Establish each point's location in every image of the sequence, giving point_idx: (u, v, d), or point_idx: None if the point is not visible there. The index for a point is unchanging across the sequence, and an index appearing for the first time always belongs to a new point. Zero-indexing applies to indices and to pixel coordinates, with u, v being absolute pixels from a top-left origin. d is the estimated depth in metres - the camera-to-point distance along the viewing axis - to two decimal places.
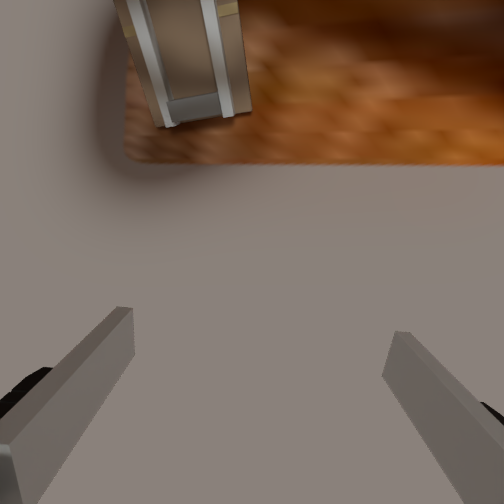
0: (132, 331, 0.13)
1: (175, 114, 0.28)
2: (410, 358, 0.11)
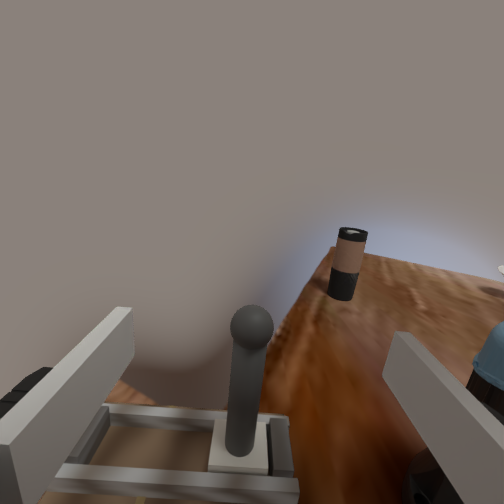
0: (132, 331, 0.13)
1: None
2: (411, 358, 0.11)
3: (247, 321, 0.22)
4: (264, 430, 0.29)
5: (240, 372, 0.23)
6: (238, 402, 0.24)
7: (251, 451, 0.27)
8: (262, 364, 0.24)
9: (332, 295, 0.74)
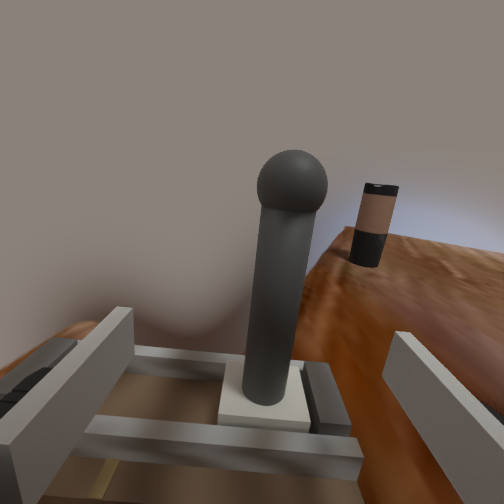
0: (132, 331, 0.13)
1: (55, 342, 0.21)
2: (411, 358, 0.11)
3: (289, 159, 0.13)
4: (298, 375, 0.20)
5: (272, 257, 0.14)
6: (267, 312, 0.15)
7: (282, 399, 0.18)
8: (307, 248, 0.15)
9: (355, 261, 0.65)
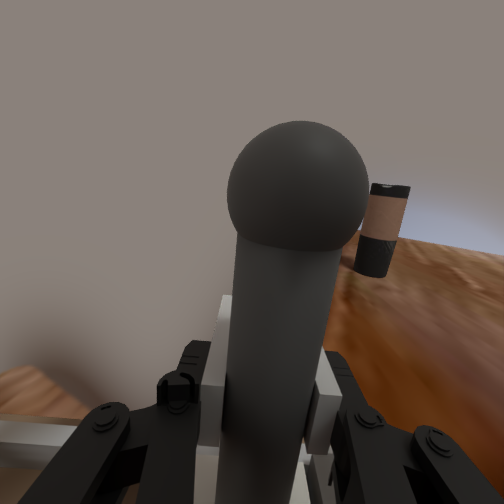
0: None
1: None
2: None
3: (292, 138, 0.06)
4: (303, 483, 0.13)
5: (258, 337, 0.07)
6: (250, 431, 0.08)
7: None
8: (326, 315, 0.08)
9: (361, 271, 0.58)
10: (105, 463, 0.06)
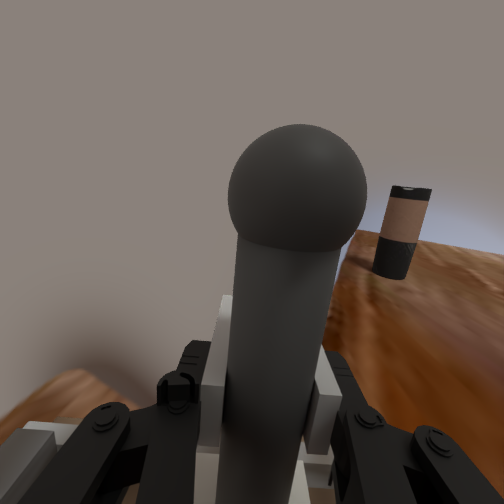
0: None
1: (20, 440, 0.13)
2: None
3: (291, 142, 0.06)
4: (303, 481, 0.13)
5: (258, 336, 0.07)
6: (250, 428, 0.08)
7: None
8: (325, 314, 0.08)
9: (380, 273, 0.58)
10: (105, 463, 0.06)
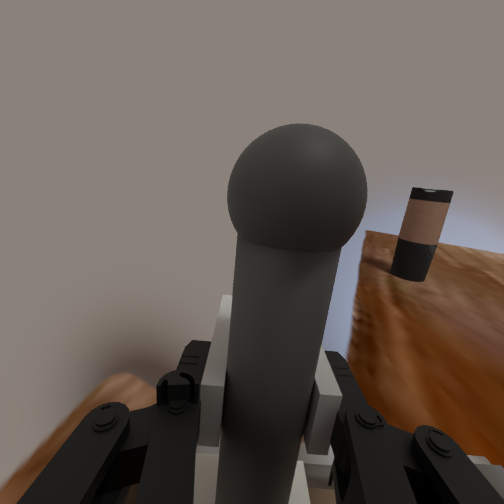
0: None
1: None
2: None
3: (291, 141, 0.06)
4: (303, 482, 0.13)
5: (258, 336, 0.07)
6: (250, 429, 0.08)
7: None
8: (325, 315, 0.08)
9: (400, 274, 0.58)
10: (105, 463, 0.06)
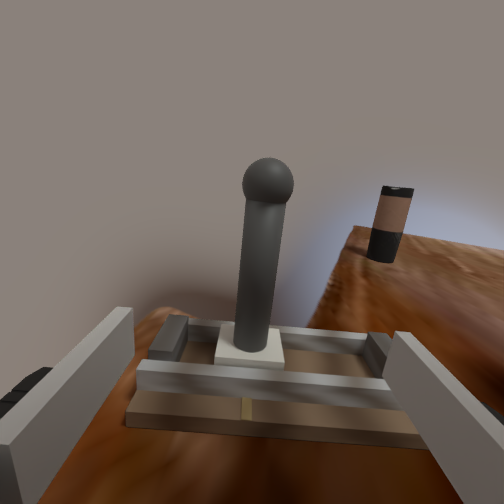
0: (132, 331, 0.13)
1: (174, 318, 0.26)
2: (411, 358, 0.11)
3: (264, 165, 0.18)
4: (278, 334, 0.26)
5: (254, 236, 0.20)
6: (251, 278, 0.21)
7: (264, 349, 0.23)
8: (279, 230, 0.20)
9: (373, 257, 0.71)
10: None
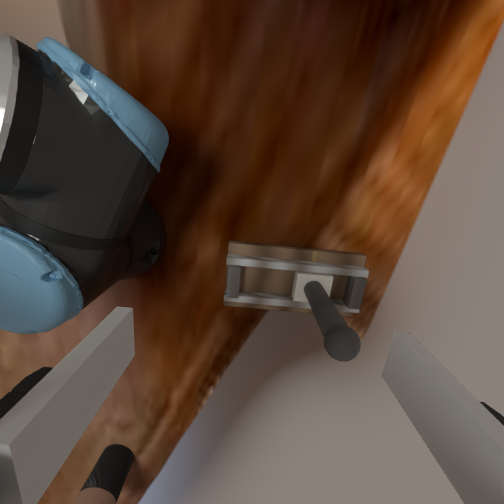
0: (132, 331, 0.13)
1: (356, 305, 0.44)
2: (411, 358, 0.11)
3: (352, 340, 0.28)
4: (295, 295, 0.44)
5: (339, 314, 0.33)
6: (330, 301, 0.36)
7: (306, 283, 0.43)
8: (324, 319, 0.32)
9: (129, 453, 0.59)
10: None
